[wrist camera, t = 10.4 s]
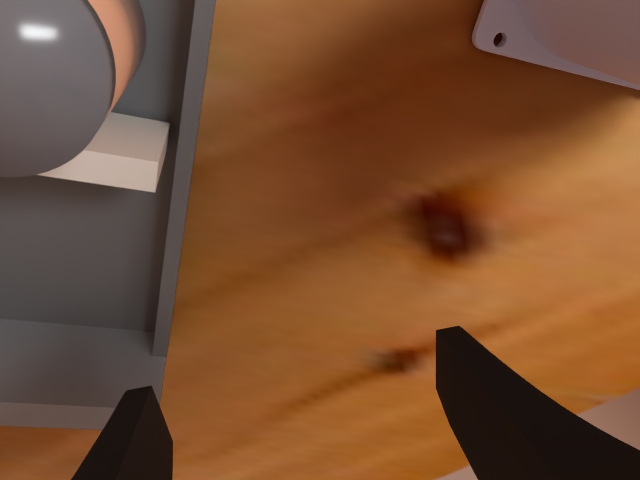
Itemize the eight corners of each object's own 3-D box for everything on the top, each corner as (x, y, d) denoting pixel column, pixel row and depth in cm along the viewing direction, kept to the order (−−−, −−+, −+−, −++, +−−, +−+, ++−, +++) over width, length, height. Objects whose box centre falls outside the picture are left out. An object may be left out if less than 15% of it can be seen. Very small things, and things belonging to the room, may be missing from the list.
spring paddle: (170, 123, 19) (158, 162, 16) (167, 148, 20) (155, 192, 16) (-55, 81, 17) (-124, 116, 14) (-53, 111, 18) (-119, 151, 14)
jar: (153, -38, 17) (115, -26, 11) (140, 113, 19) (102, 191, 13) (-22, -83, 16) (-174, -97, 10) (-14, 85, 18) (-134, 157, 12)
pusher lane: (249, -243, 15) (258, -316, 11) (167, 347, 25) (156, 432, 21) (-125, -379, 13) (-299, -540, 9) (-53, 330, 23) (-118, 421, 18)
